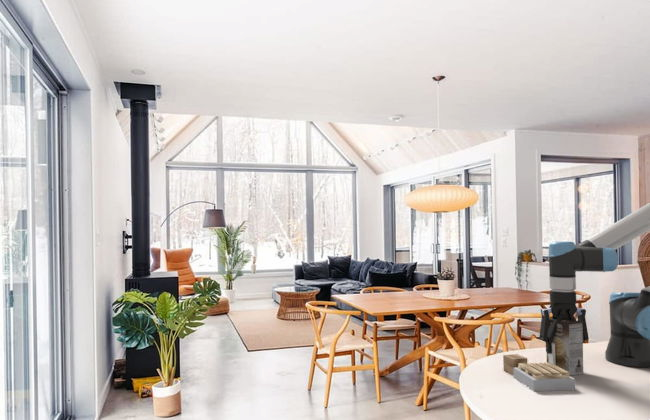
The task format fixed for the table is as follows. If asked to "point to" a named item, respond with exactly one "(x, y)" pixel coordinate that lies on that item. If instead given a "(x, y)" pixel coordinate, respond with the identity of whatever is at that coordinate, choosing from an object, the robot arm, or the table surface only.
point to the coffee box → (569, 346)
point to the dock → (544, 382)
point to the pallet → (543, 370)
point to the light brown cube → (512, 362)
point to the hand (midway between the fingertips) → (564, 363)
